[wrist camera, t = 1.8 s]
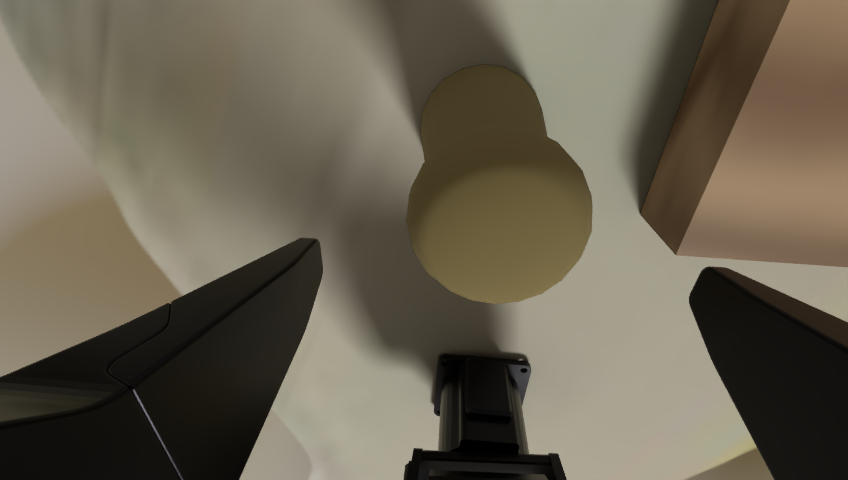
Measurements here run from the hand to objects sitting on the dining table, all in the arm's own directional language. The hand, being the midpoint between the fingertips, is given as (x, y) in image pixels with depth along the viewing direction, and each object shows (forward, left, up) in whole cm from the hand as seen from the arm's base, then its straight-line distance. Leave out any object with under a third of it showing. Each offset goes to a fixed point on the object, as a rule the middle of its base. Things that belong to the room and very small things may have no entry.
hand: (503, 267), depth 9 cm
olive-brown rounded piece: (0, 0, -12) cm, 12 cm away
